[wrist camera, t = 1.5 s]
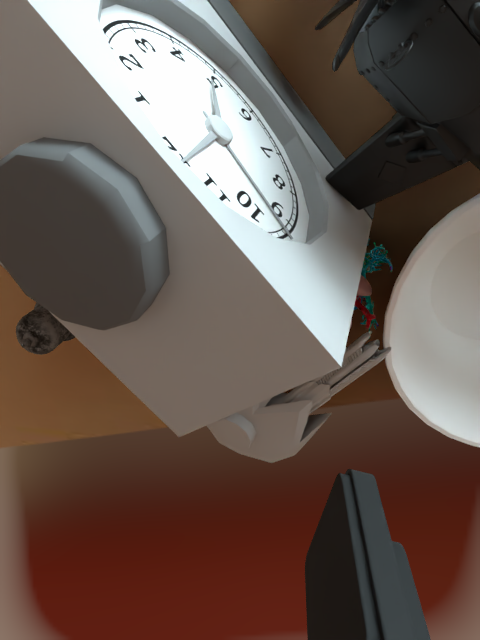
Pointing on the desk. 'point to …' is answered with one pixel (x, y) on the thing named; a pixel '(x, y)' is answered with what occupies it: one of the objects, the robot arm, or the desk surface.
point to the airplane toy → (412, 92)
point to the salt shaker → (41, 331)
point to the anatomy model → (365, 287)
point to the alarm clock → (173, 202)
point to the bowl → (440, 326)
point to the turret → (294, 409)
